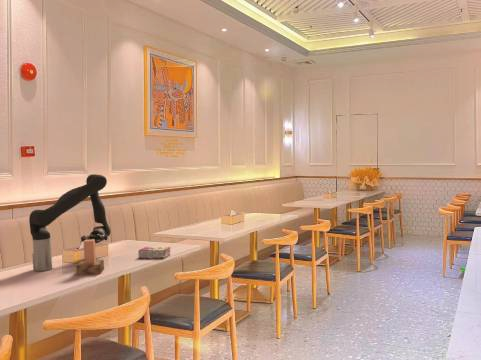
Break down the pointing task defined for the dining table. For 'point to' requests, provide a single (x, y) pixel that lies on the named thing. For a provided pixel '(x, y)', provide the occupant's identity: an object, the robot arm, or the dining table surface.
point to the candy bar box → (154, 252)
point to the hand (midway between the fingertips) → (92, 240)
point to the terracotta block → (89, 251)
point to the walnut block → (90, 268)
